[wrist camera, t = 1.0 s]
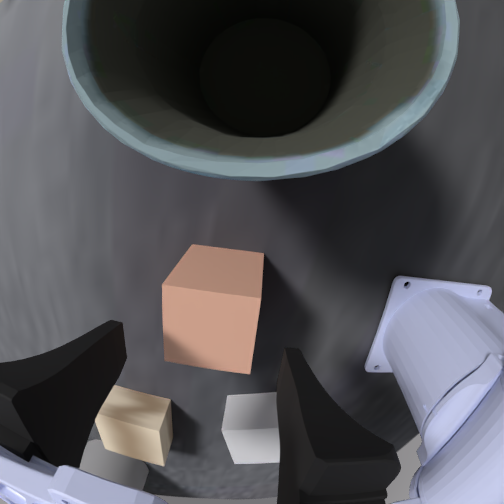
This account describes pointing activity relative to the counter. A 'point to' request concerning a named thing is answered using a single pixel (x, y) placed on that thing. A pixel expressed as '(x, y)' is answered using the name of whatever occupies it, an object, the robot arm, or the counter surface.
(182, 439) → the counter surface
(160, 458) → the oak base block
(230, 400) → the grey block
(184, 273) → the terracotta block
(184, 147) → the teal round container
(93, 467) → the cup
